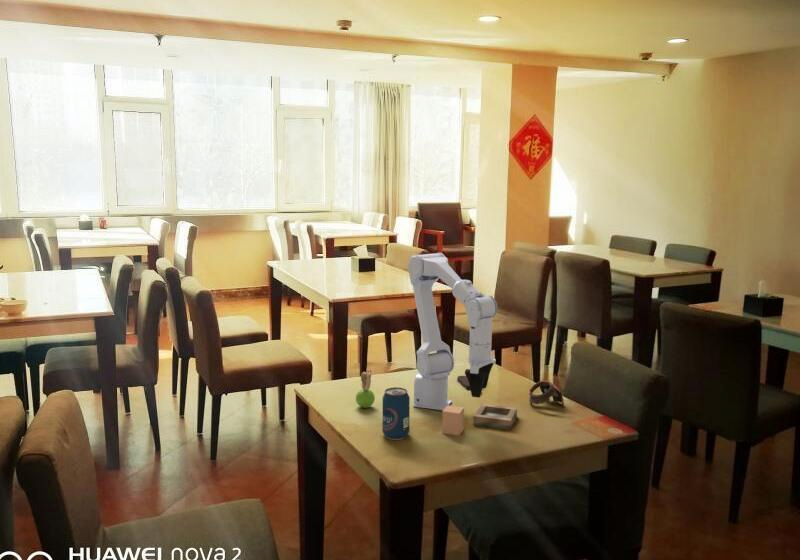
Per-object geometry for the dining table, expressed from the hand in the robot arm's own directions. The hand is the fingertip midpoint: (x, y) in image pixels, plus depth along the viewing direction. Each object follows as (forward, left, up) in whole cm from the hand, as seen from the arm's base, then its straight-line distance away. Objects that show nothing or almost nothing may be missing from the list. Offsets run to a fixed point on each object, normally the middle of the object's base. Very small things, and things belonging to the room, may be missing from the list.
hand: (479, 392), depth 178 cm
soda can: (-19, -13, -10) cm, 25 cm away
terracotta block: (-6, -5, -10) cm, 12 cm away
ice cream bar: (-10, +32, -10) cm, 35 cm away
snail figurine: (-34, +3, -10) cm, 35 cm away
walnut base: (+3, +6, -10) cm, 12 cm away
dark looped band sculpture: (+15, +24, -10) cm, 30 cm away
